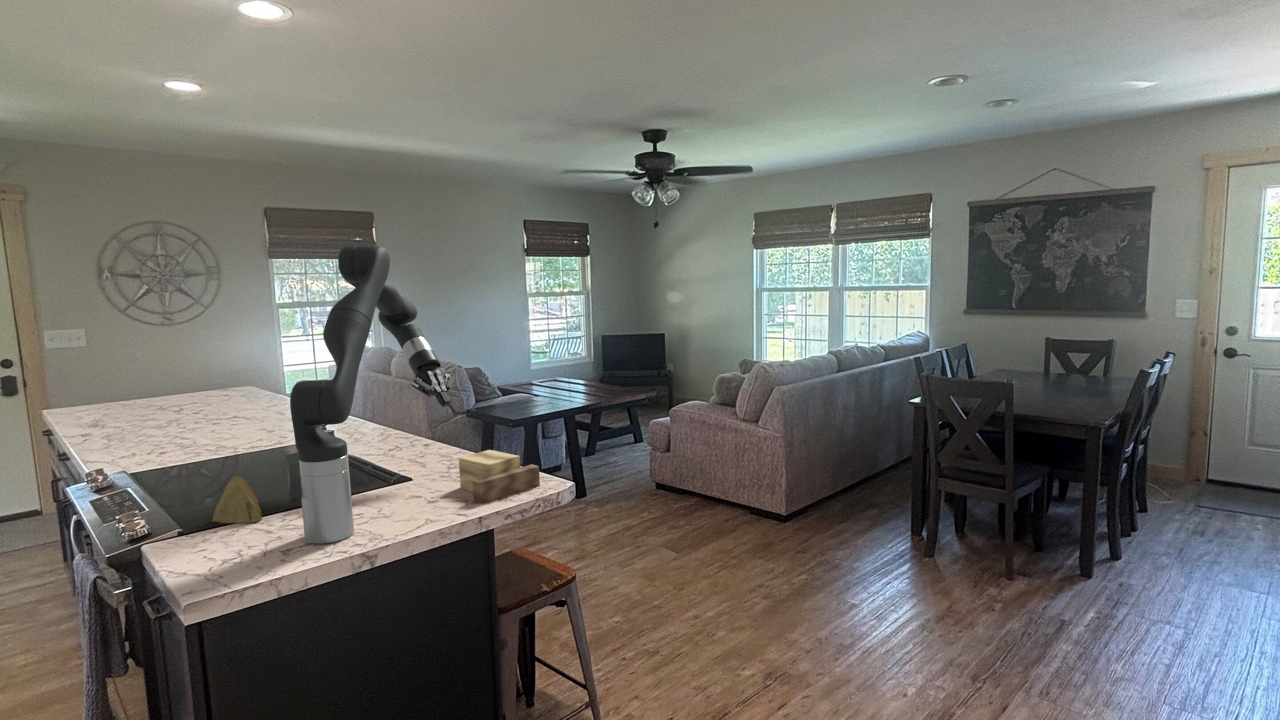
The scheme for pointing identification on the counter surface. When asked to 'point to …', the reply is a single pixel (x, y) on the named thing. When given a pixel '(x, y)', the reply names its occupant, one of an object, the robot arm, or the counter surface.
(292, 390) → the robot arm
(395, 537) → the counter surface
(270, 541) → the counter surface
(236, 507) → the rock
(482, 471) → the oak block
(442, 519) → the counter surface
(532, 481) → the walnut board
